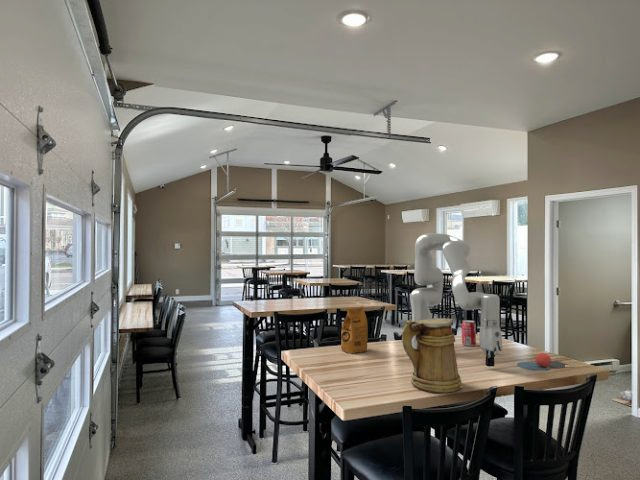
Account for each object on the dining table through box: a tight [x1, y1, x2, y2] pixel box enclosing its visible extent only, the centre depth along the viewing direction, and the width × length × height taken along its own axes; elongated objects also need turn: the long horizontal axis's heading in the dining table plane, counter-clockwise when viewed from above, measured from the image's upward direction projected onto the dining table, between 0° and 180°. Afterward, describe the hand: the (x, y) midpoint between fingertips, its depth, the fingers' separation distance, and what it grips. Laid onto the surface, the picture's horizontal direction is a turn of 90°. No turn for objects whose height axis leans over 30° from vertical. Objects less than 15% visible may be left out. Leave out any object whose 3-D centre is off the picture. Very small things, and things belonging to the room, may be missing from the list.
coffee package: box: [340, 305, 369, 355], centre depth 211 cm, size 10×12×22 cm
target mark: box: [516, 361, 551, 371], centre depth 186 cm, size 13×13×1 cm
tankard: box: [401, 317, 463, 394], centre depth 158 cm, size 18×24×25 cm
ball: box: [535, 352, 552, 367], centre depth 185 cm, size 6×6×6 cm
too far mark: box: [549, 360, 569, 369], centre depth 188 cm, size 10×10×1 cm
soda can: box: [461, 319, 477, 348], centre depth 225 cm, size 7×7×13 cm
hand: (489, 365), depth 181 cm, fingers closed
